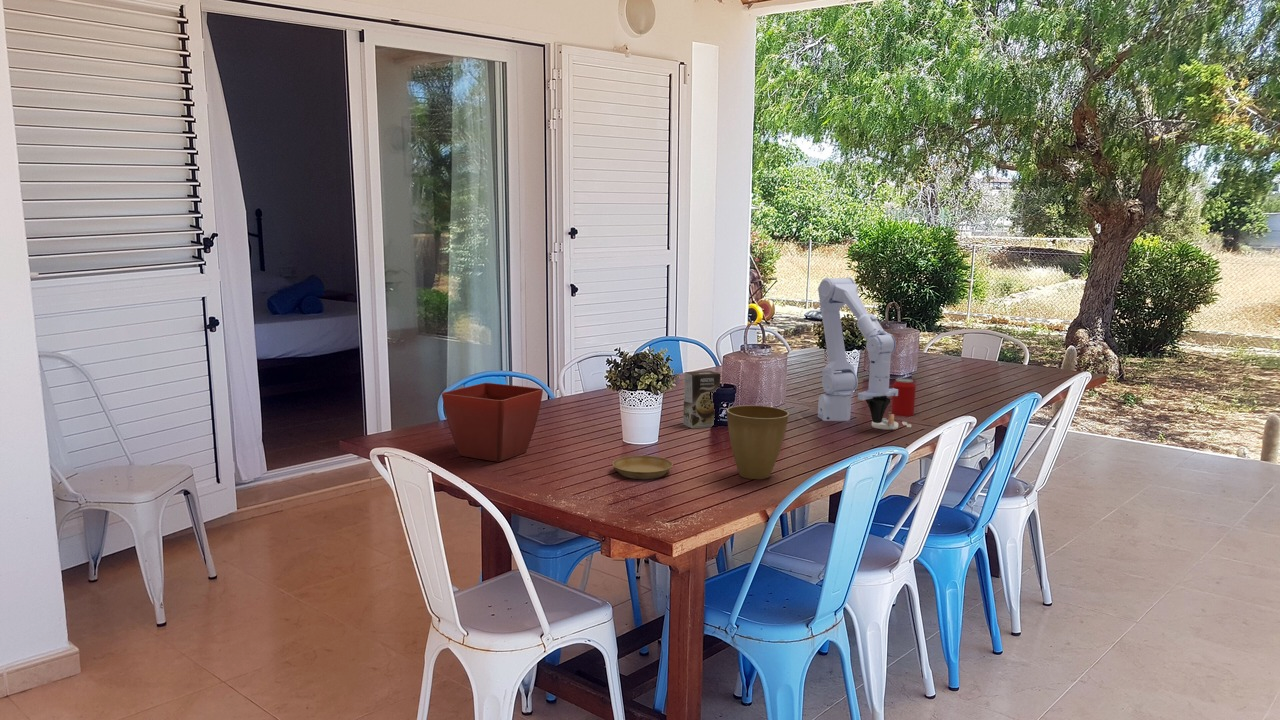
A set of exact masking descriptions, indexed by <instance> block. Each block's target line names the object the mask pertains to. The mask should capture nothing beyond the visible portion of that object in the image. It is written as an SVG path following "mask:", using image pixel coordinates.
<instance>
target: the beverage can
mask: <svg viewBox="0 0 1280 720" xmlns="http://www.w3.org/2000/svg"><path fill="white" fill-rule="evenodd" d="M892 388H894V389H898V396H891V397H892V399H891V401H892V402H891V414H894V416H900V417H911V416H914V414H915V401H916V383H915V382H914V380H913V379H912V378H896V379H895V381H894V382H893V384H892Z"/></svg>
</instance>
